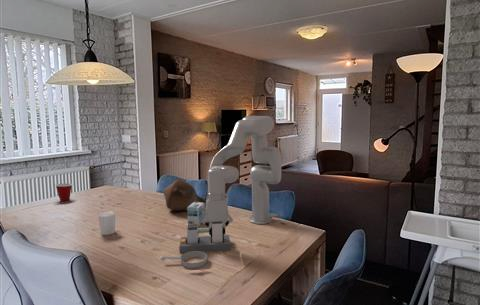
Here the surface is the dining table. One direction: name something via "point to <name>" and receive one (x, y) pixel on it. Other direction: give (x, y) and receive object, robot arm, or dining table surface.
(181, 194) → the jug
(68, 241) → the dining table surface
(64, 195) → the plastic cup
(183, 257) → the saucepan
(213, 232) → the plug
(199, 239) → the strip
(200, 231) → the tray
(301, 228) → the dining table surface
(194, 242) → the light grey peg
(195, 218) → the light bulb box
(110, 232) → the white cup
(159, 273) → the dining table surface
